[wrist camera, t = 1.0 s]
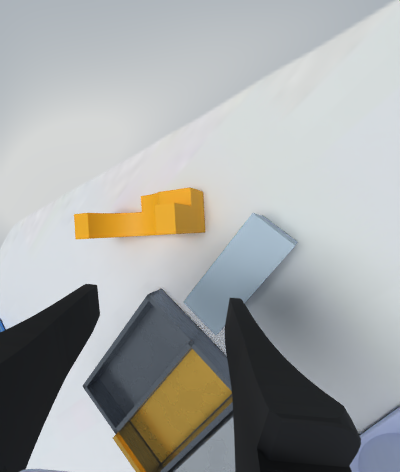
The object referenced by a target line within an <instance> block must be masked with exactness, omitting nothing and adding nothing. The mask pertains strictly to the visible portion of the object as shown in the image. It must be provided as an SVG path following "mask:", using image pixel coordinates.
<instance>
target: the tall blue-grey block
mask: <svg viewBox="0 0 400 472" xmlns="http://www.w3.org/2000/svg"><path fill="white" fill-rule="evenodd" d="M297 243H298V242H297V241H296V240H295V239H293V238H292V237H291V236H289V235H288V234H287V233H285V232H284V231H283V230H281V229H280V228H279V227H277V226H276V225H275V224H273V223H272V222H271V221H270V220H268V219H267V218H266V217H264V216H262V215H258V214H255V213H252V215H251V216H250V217H249V218H248V220H247V221H246V222H245V224H244V225H243V226H242V227H241V229H240V230H239V231H238V233H237V234H236V235H235V236H234V238H233V239H232V240H231V241H230V243H229V244H228V245H227V247H226V248H225V249H224V250H223V252H222V253H221V254H220V256H219V257H218V258H217V259H216V261H215V262H214V263H213V265H212V266H211V267H210V268H209V270H208V271H207V272H206V274H205V275H204V276H203V277H202V279H201V280H200V281H199V283H198V284H197V285H196V286H195V288H194V289H193V290H192V292H191V293H190V294H189V295H188V297H187V298H186V299H185V301H184V303H185V304H186V305H187V306H188V308H189V309H190V310H191V311H192V312H193V313H194V314H195V315H196V316H197V317H198V318H199V319H200V320H201V321H202V322H203V323H204V324H205V325H206V326H207V327H208V328H209V329H210V330H211V331H212V332H213V333H214V334H215V335H217V334H218V333H219V332H220V330H221V329H222V328H223V327H224V326H225V322H226V317H227V311H228V305H229V299H230V298H241V299H242V300H243V302H244V303H245V302H246V301H247V300H248V299H249V298H250V296H251V295H252V294H253V293H254V292H255V291H256V290H257V289H258V287H259V286H260V285H261V284H262V283H263V282H264V281H265V279H266V278H267V277H268V276H269V275H270V274H271V273H272V272H273V270H274V269H275V268H276V267H277V266H278V265H279V264H280V262H281V261H282V260H283V259H284V258H285V257H286V256H287V255H288V253H289V252H290V251H291V250H292V249H293V248H294V247H295V245H296V244H297Z"/></svg>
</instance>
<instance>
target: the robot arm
mask: <svg viewBox="0 0 400 472" xmlns="http://www.w3.org/2000/svg"><path fill="white" fill-rule="evenodd" d="M99 316H100V310H99V300H98V290H97V285H91V284H85V285H83V286H81V287H80V288H78V289H77V290H75V291H74V292H72V293H70V294H69V295H67V296H66V297H64V298H63V299H61V300H59V301H58V302H56V303H55V304H53V305H51V306H50V307H48V308H46V309H44V310H43V311H41V312H39V313H38V314H36V315H34V316H32V317H31V318H29V319H27V320H25V321H23V322H21V323H19V324H17V325H15V326H13V327H11V328H9V329H7V330H4V331H2V332H0V472H67V471H56V470H44V469H26V467H27V464H28V461H29V459H30V456H31V454H32V451H33V449H34V447H35V444H36V442H37V439H38V437H39V435H40V432H41V430H42V428H43V425H44V423H45V421H46V418H47V416H48V414H49V412H50V410H51V407H52V405H53V403H54V401H55V399H56V397H57V394H58V392H59V390H60V388H61V386H62V384H63V382H64V380H65V378H66V376H67V374H68V373H69V371H70V369H71V368H72V366H73V364H74V363H75V361H76V359H77V357H78V356H79V354H80V352H81V351H82V349H83V347H84V346H85V344H86V342H87V341H88V339H89V337H90V336H91V334H92V332H93V330H94V328H95V325H96V323H97V321H98V318H99ZM225 346H226V353H227V360H228V367H229V374H230V381H231V389H232V401H233V421H234V445H235V472H400V407H399V408H397V409H396V410H395V411H393V412H392V413H390V414H389V415H388V416H386V417H385V418H383V419H382V420H381V421H379V422H378V423H376V424H375V425H374V426H372V427H371V428H370V429H368V430H367V431H365V432H364V433H363V434H361V435H360V436H359V434H358V432H357V430H356V428H355V425H354V424H353V422H352V420H351V418H350V416H349V414H348V413H347V411H346V409H345V408H344V406H343V405H341V404H340V403H339V402H337V401H336V400H334V399H333V398H332V397H330V396H329V395H328V394H326V393H325V392H323V391H322V390H321V389H319V388H318V387H317V386H316V385H314V384H313V383H312V382H311V381H310V380H308V379H307V378H306V377H305V376H304V375H302V374H301V373H300V372H299V371H298V370H297V369H296V368H295V367H294V366H293V365H292V364H291V363H290V362H288V361H287V360H286V359H285V358H284V356H283V355H282V354H281V353H280V352H279V351H278V350H277V349H276V348H275V347H274V345H273V344H272V343H271V342H270V340H269V339H268V338H267V337H266V335H265V334H264V333H263V331H262V330H261V329H260V327H259V326H258V324H257V323H256V321H255V320H254V318H253V317H252V315H251V314H250V312H249V311H248V309H247V307H246V306H245V304H244V302H243V300H242V299H241V298H230V299H229V305H228V311H227V317H226V322H225ZM25 469H26V470H25Z"/></svg>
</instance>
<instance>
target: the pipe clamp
mask: <svg viewBox="0 0 400 472" xmlns="http://www.w3.org/2000/svg"><path fill="white" fill-rule="evenodd" d="M141 206H142V212H137V213H82V214H74V220H75V237H76V239H89V238H109V237H128V236H146V235H165V234H184V233H202V232H205V218H204V199H203V192H202V191H199V190H196V189H193V188H184V189H177V190H170V191H163V192H158V193H155V194H151V195H146V196H141Z"/></svg>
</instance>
